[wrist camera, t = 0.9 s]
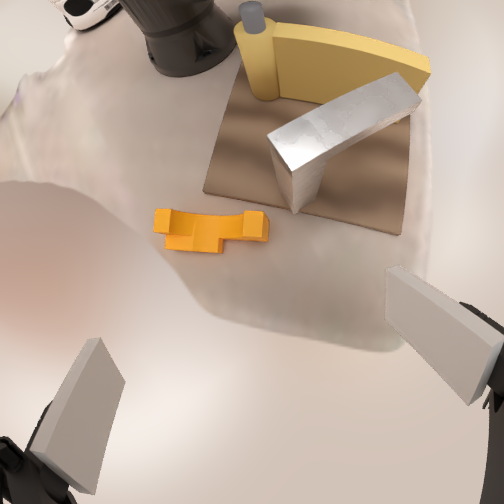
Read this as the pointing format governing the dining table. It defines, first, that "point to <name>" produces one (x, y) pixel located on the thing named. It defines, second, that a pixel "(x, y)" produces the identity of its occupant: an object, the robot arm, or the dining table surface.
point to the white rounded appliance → (86, 11)
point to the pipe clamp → (208, 229)
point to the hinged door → (317, 59)
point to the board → (336, 171)
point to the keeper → (334, 134)
